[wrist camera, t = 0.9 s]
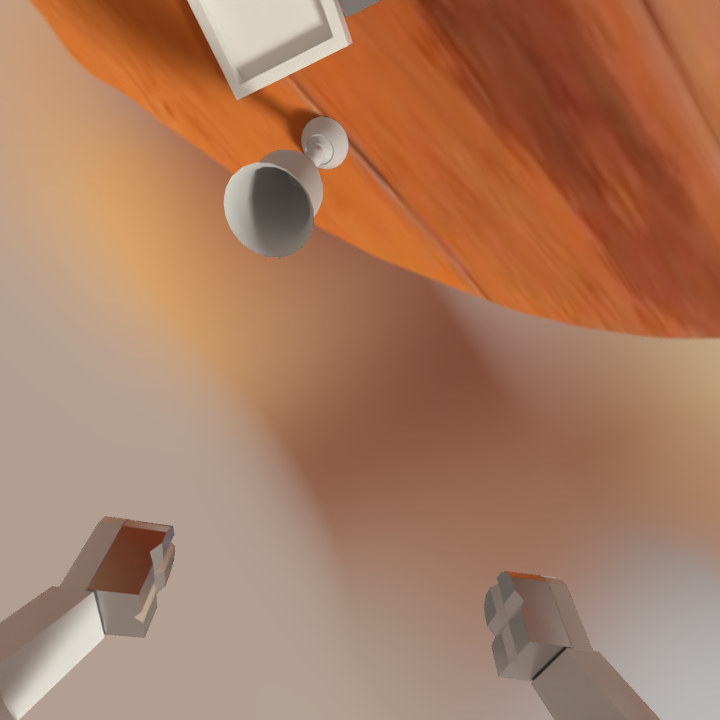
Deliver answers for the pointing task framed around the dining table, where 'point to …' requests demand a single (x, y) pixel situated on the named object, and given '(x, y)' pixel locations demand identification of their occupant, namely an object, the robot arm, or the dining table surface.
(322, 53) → the tray
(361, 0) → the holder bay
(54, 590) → the robot arm
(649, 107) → the dining table surface
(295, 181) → the chalice
